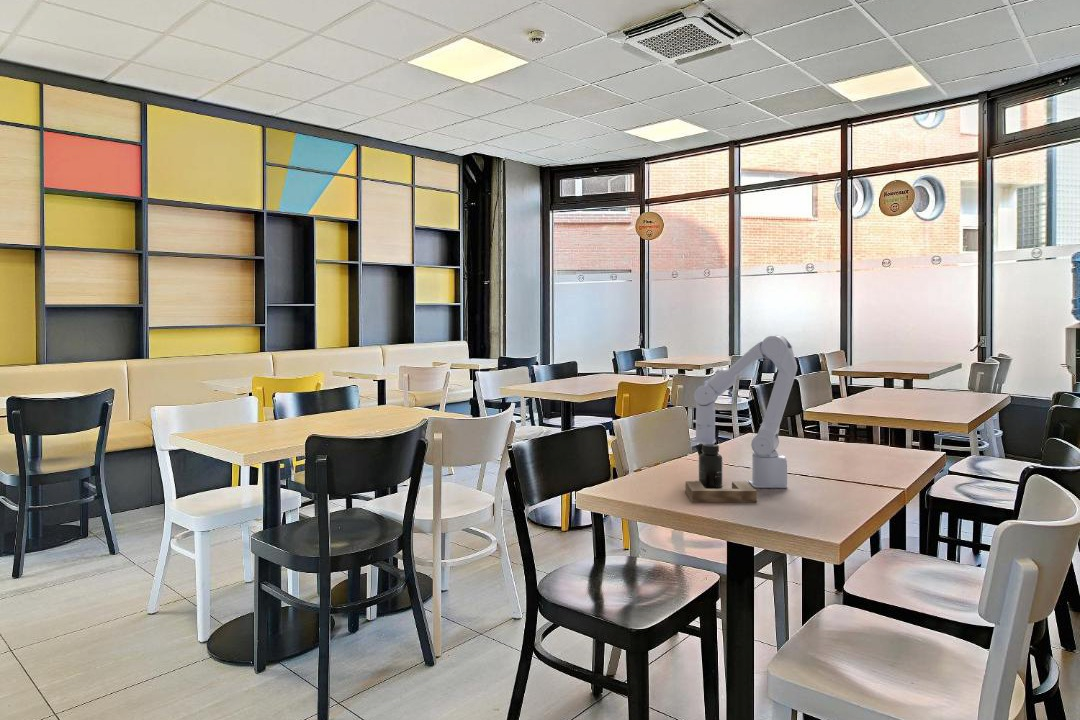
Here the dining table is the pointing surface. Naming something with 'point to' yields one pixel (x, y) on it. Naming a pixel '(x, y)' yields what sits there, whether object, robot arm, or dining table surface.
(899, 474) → the dining table surface
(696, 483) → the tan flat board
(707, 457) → the supplement bottle
